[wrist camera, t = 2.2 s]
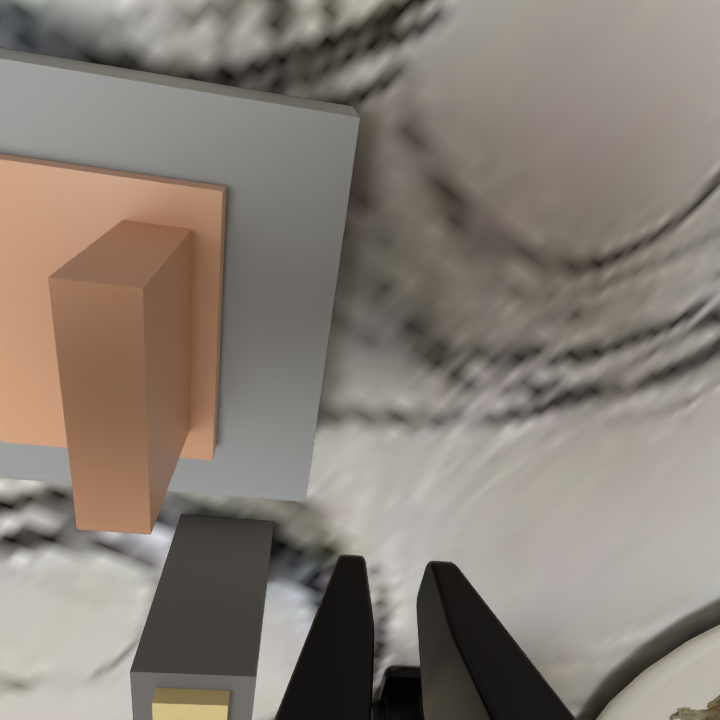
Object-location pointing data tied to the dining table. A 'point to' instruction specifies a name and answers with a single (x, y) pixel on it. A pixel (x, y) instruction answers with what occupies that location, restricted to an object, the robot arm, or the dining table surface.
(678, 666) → the plated food
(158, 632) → the grey rectangular block
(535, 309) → the dining table surface
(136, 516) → the shutter
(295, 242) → the socket
